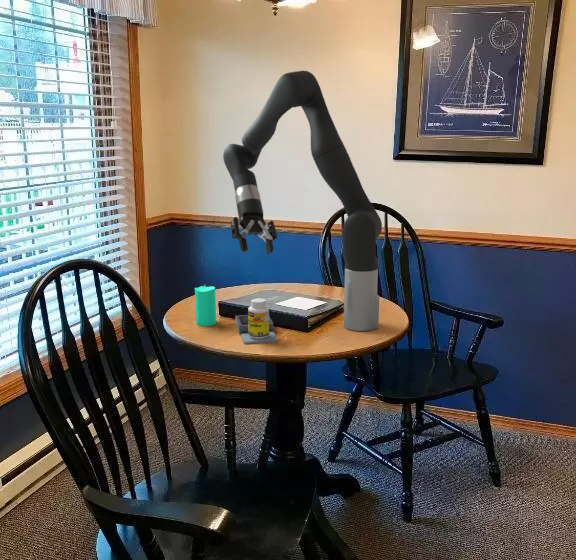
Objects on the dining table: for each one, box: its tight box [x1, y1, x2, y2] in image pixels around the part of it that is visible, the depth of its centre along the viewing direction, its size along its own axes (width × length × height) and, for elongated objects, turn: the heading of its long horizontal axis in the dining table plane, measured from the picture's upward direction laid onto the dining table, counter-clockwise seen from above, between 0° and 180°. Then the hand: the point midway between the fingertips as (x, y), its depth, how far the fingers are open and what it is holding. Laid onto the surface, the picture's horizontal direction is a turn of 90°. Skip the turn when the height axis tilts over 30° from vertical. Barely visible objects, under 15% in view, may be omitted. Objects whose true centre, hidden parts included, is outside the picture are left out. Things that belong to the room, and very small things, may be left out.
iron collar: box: [234, 314, 275, 336], centre depth 169 cm, size 10×10×2 cm
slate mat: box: [240, 332, 278, 345], centre depth 160 cm, size 9×7×1 cm
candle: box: [194, 285, 217, 327], centre depth 173 cm, size 6×6×12 cm
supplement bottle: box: [247, 297, 270, 339], centre depth 159 cm, size 6×6×10 cm
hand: (257, 252), depth 174 cm, fingers open, 8 cm apart
